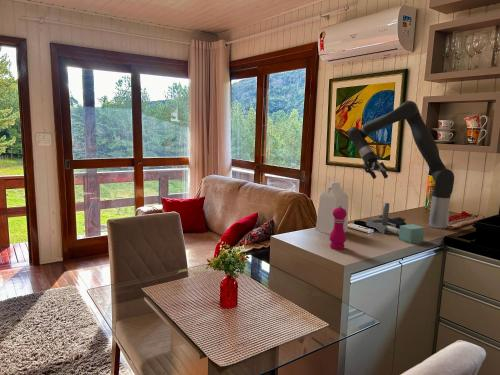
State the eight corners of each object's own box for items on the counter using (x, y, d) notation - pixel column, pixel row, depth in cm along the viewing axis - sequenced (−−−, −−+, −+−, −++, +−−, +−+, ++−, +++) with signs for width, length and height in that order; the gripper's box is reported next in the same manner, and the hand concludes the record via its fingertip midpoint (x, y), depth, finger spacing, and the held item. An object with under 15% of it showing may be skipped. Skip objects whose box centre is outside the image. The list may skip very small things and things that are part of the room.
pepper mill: (326, 245, 169) (329, 202, 165) (342, 245, 169) (345, 202, 166) (331, 250, 161) (334, 206, 158) (347, 250, 162) (351, 206, 159)
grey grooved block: (377, 226, 205) (377, 217, 204) (395, 232, 193) (396, 222, 192) (366, 227, 201) (366, 218, 200) (384, 233, 190) (385, 224, 189)
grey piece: (376, 225, 202) (378, 200, 199) (402, 234, 186) (405, 207, 184) (372, 226, 200) (374, 200, 198) (398, 235, 185) (401, 207, 182)
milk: (329, 226, 200) (332, 179, 196) (347, 231, 192) (351, 182, 188) (315, 230, 193) (318, 181, 188) (333, 235, 184) (337, 184, 180)
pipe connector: (390, 213, 213) (414, 219, 201) (389, 222, 214) (413, 229, 202) (377, 216, 207) (401, 222, 195) (377, 225, 208) (400, 232, 196)
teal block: (411, 237, 185) (413, 224, 184) (423, 241, 179) (424, 227, 177) (398, 239, 181) (400, 225, 180) (410, 243, 175) (411, 229, 173)
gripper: (362, 151, 205) (375, 174, 197) (381, 151, 211) (394, 173, 203) (354, 159, 211) (367, 182, 202) (373, 159, 217) (386, 181, 209)
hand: (380, 177), depth 203 cm, fingers open, 8 cm apart
